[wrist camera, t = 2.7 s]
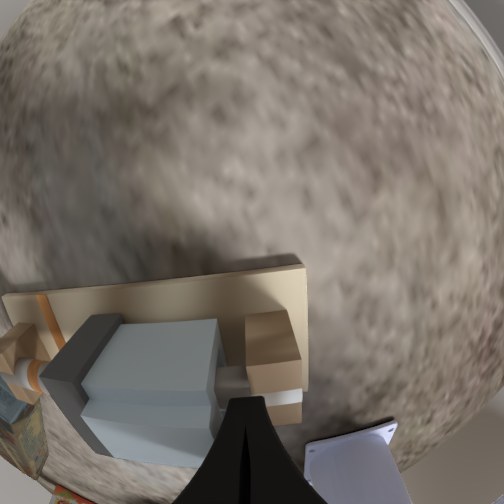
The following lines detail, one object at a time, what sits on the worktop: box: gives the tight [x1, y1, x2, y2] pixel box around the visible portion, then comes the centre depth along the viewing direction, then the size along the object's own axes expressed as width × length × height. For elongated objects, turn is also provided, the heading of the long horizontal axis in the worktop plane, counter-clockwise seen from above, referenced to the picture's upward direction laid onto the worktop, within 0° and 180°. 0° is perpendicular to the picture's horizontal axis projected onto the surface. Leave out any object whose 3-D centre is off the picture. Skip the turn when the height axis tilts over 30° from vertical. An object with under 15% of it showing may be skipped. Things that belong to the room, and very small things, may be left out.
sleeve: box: [80, 318, 227, 468], centre depth 10 cm, size 5×5×6 cm
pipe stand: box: [0, 264, 308, 427], centre depth 12 cm, size 20×8×4 cm, turn 97°
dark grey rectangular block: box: [39, 314, 125, 460], centre depth 11 cm, size 2×5×5 cm, turn 6°
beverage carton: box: [0, 375, 49, 480], centre depth 14 cm, size 8×19×7 cm, turn 151°
